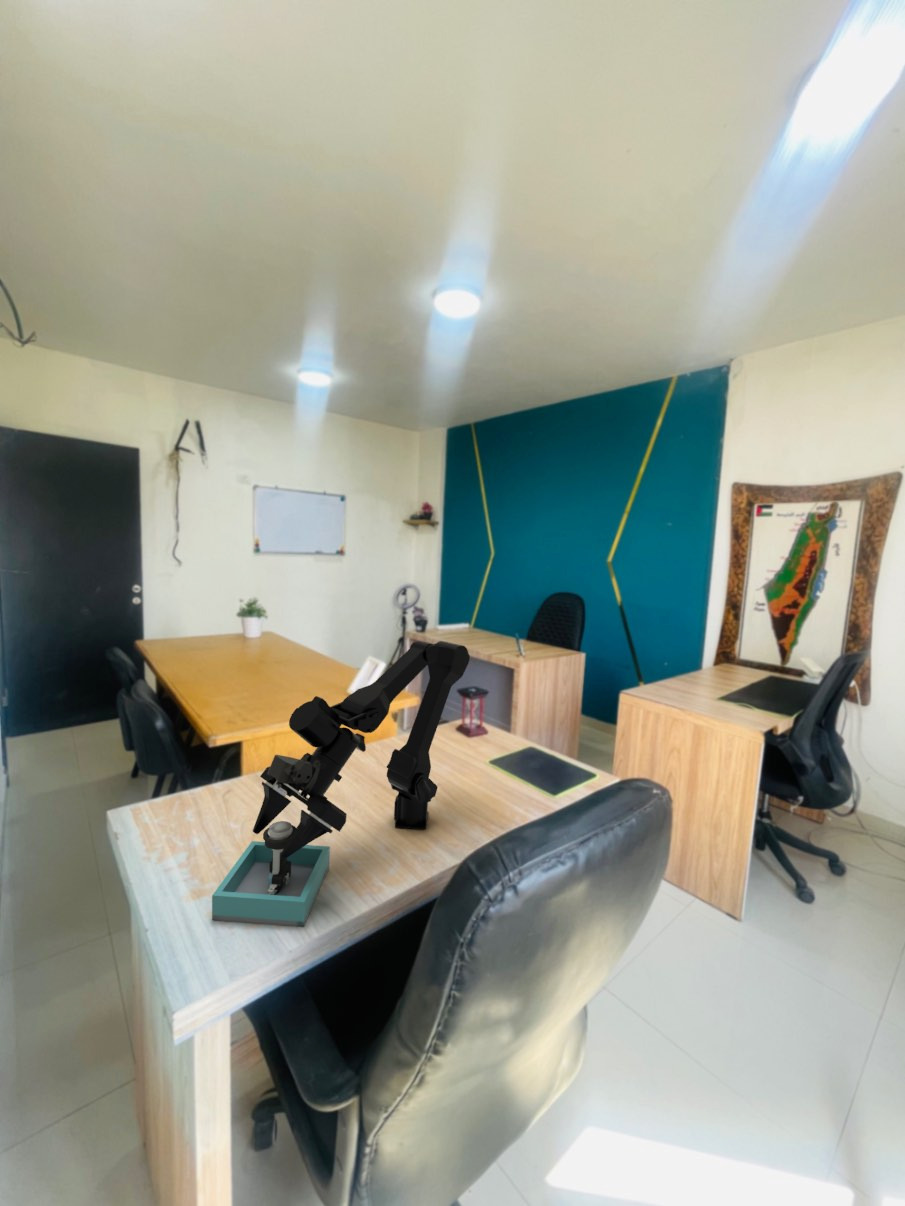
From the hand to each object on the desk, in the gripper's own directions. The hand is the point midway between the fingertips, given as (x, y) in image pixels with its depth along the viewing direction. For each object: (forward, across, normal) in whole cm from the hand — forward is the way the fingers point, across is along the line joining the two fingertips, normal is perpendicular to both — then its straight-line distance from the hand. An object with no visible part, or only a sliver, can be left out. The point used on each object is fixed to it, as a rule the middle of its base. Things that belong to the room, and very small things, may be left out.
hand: (268, 844), depth 80 cm
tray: (+5, 0, +7) cm, 9 cm away
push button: (+5, 0, +7) cm, 8 cm away
